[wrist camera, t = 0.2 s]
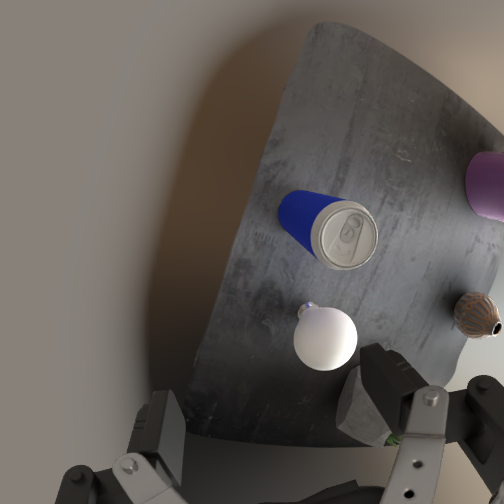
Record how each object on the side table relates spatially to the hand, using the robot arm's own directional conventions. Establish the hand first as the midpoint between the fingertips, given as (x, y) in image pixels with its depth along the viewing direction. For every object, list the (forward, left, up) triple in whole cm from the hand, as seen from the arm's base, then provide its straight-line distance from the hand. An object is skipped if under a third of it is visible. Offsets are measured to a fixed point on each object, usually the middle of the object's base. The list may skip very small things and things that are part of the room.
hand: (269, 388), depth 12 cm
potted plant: (+14, +26, -25) cm, 39 cm away
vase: (-1, +37, -25) cm, 44 cm away
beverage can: (-6, +6, -25) cm, 27 cm away
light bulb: (+5, +11, -25) cm, 28 cm away
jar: (-20, +33, -25) cm, 46 cm away
